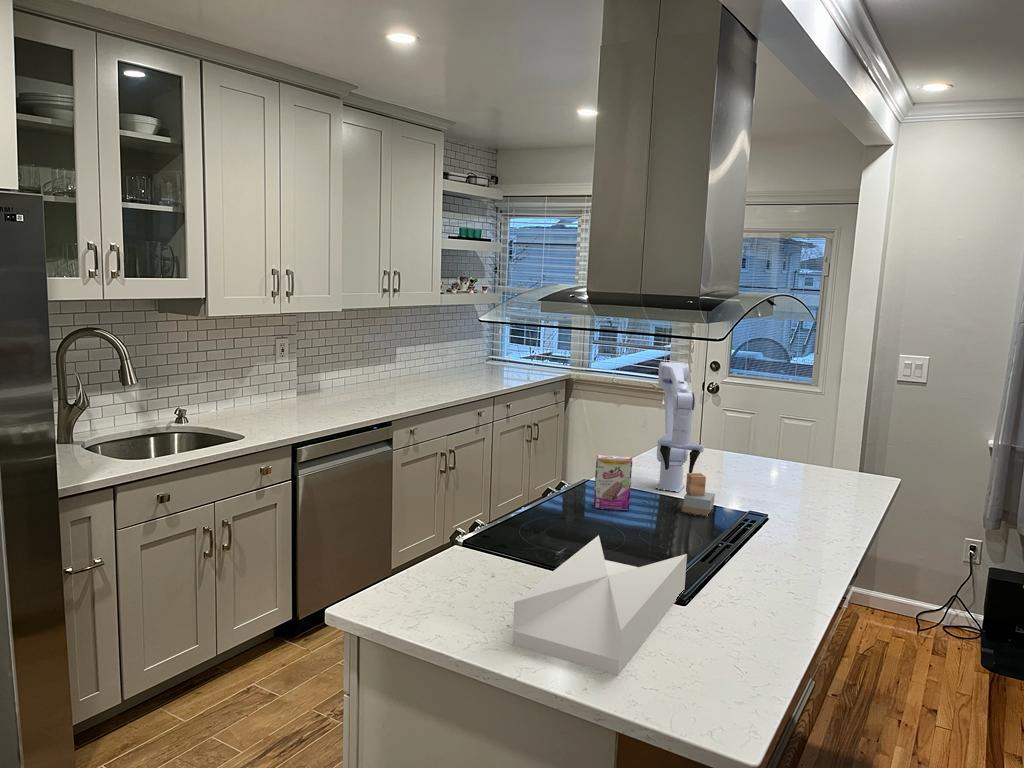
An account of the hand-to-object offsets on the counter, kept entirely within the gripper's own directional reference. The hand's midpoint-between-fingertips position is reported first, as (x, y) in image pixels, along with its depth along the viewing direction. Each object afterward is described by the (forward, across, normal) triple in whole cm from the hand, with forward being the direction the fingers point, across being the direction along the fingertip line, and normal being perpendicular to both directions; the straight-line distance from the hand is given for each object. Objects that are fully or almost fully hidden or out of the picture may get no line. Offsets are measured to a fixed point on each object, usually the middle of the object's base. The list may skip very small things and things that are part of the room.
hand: (678, 470), depth 250 cm
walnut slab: (+11, +8, -6) cm, 15 cm away
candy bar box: (+11, -16, -18) cm, 26 cm away
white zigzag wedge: (+12, +8, -90) cm, 91 cm away
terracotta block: (+5, +7, -6) cm, 10 cm away
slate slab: (+8, +8, -6) cm, 13 cm away
